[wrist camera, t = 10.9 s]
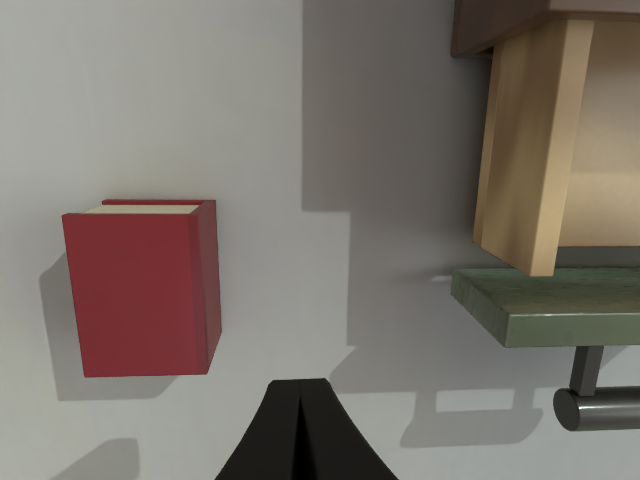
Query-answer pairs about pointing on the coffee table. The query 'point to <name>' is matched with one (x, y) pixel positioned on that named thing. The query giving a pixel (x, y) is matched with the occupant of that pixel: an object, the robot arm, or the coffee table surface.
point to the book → (145, 286)
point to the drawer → (562, 205)
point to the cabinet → (524, 19)
